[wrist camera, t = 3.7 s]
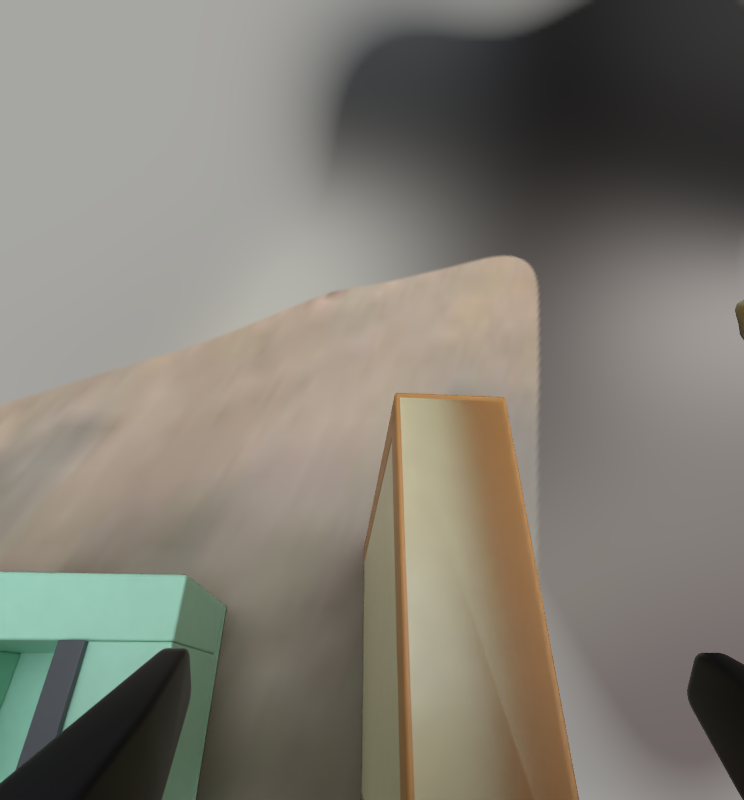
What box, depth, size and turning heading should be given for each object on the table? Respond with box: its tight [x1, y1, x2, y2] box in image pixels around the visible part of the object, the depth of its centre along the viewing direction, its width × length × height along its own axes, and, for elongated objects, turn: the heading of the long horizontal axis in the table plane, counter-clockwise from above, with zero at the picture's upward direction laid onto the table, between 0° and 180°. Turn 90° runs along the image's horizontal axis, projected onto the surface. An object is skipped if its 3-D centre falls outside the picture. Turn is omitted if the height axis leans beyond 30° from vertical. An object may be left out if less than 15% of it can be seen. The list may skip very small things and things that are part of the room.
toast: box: [361, 393, 579, 800], centre depth 11 cm, size 8×2×10 cm, turn 0°
